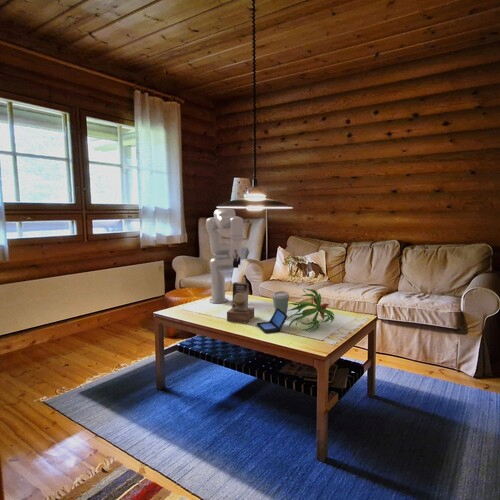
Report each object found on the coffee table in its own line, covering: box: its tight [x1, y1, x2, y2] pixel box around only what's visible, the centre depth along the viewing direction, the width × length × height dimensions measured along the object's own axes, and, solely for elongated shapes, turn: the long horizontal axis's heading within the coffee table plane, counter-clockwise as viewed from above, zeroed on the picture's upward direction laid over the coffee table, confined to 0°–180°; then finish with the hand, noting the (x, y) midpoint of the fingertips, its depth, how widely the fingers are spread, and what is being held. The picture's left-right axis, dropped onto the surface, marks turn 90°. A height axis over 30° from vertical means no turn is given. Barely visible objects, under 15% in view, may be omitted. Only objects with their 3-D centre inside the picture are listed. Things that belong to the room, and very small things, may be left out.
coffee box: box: [231, 281, 249, 311], centre depth 220 cm, size 9×6×16 cm
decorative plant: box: [284, 288, 335, 333], centre depth 205 cm, size 26×25×30 cm
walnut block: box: [226, 306, 255, 324], centre depth 222 cm, size 13×13×6 cm
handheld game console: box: [256, 308, 288, 334], centre depth 205 cm, size 16×13×9 cm
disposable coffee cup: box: [271, 290, 290, 316], centre depth 225 cm, size 11×11×15 cm
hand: (236, 266), depth 221 cm, fingers open, 9 cm apart
